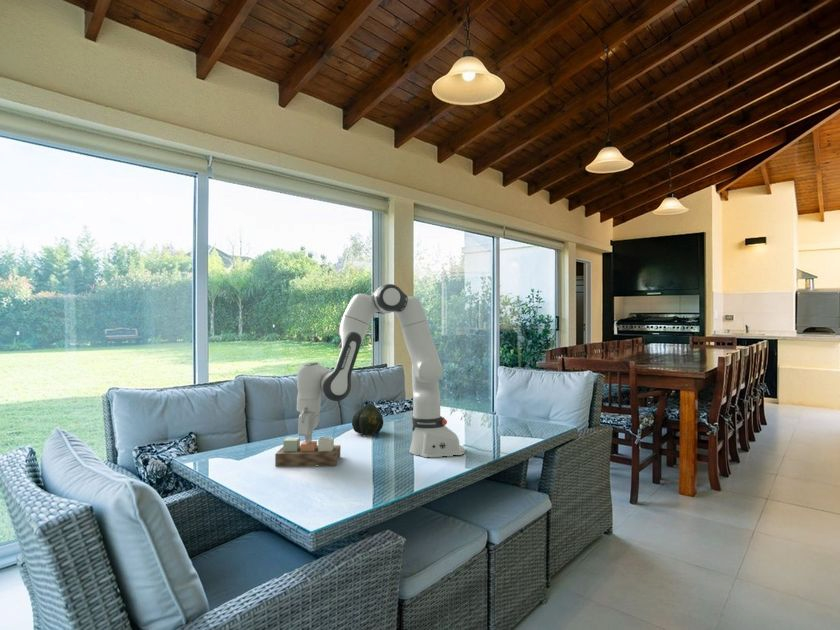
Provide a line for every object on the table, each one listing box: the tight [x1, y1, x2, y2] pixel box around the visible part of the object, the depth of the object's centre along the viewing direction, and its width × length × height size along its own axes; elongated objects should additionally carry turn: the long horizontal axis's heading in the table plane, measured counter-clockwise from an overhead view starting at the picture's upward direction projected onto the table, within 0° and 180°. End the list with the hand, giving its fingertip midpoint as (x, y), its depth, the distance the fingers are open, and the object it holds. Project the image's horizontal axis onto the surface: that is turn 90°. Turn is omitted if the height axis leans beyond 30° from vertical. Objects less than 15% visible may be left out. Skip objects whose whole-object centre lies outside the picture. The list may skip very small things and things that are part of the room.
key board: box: [274, 444, 341, 467], centre depth 186 cm, size 22×12×4 cm, turn 91°
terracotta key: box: [300, 440, 318, 451], centre depth 186 cm, size 5×5×5 cm
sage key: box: [282, 436, 301, 452], centre depth 186 cm, size 5×5×5 cm
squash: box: [351, 402, 384, 437], centre depth 231 cm, size 14×15×15 cm
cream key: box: [317, 436, 335, 451], centre depth 186 cm, size 5×5×5 cm
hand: (308, 442), depth 186 cm, fingers closed, pressing on terracotta key
